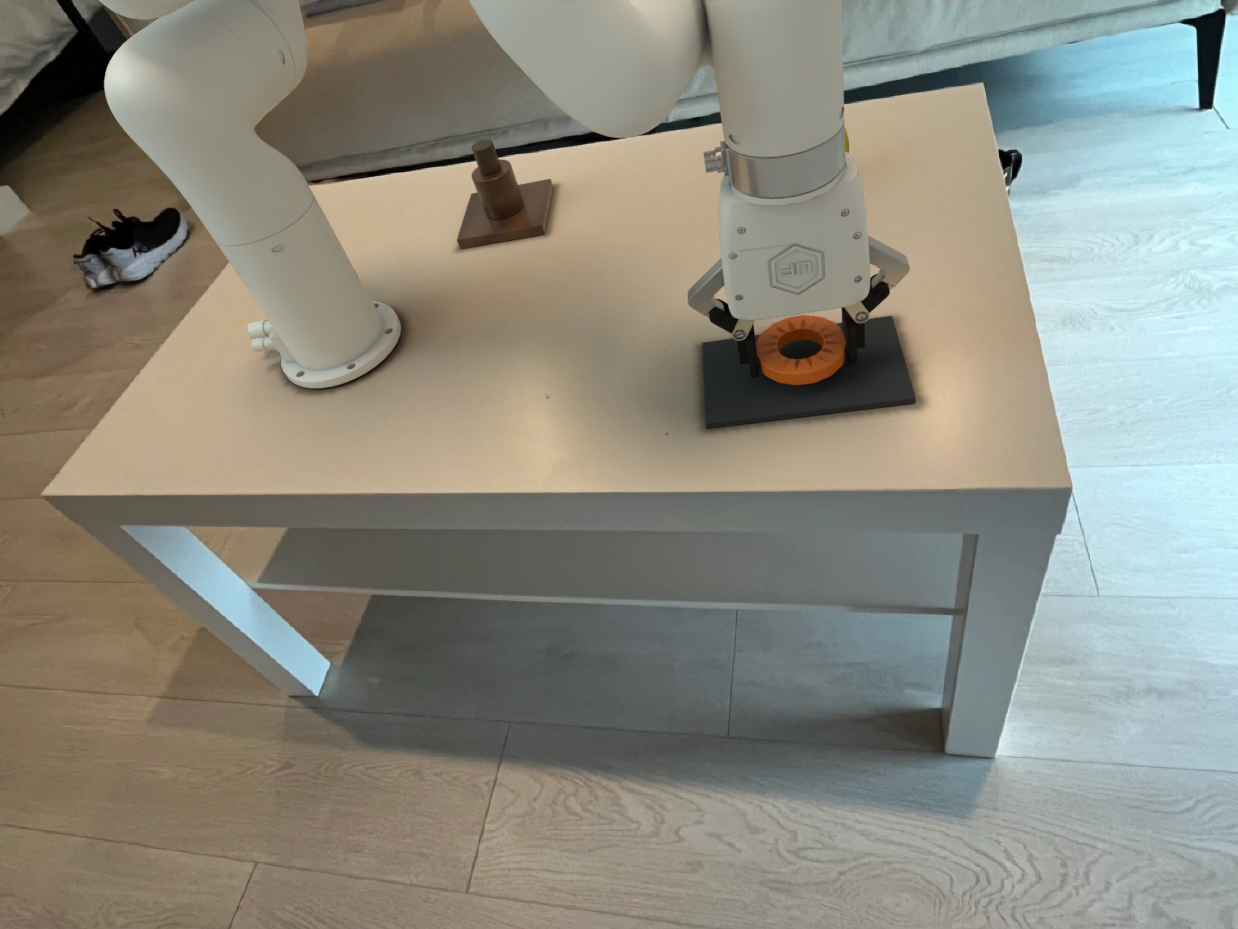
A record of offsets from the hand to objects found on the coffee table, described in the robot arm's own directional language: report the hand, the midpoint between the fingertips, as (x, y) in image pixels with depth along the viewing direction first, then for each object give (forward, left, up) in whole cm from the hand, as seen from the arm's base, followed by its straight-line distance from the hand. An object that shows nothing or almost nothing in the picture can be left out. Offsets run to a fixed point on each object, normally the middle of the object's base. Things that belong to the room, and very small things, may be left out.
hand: (801, 358), depth 66 cm
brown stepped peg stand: (-30, +33, -2) cm, 45 cm away
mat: (0, 0, -2) cm, 2 cm away
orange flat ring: (0, 0, 0) cm, 0 cm away
